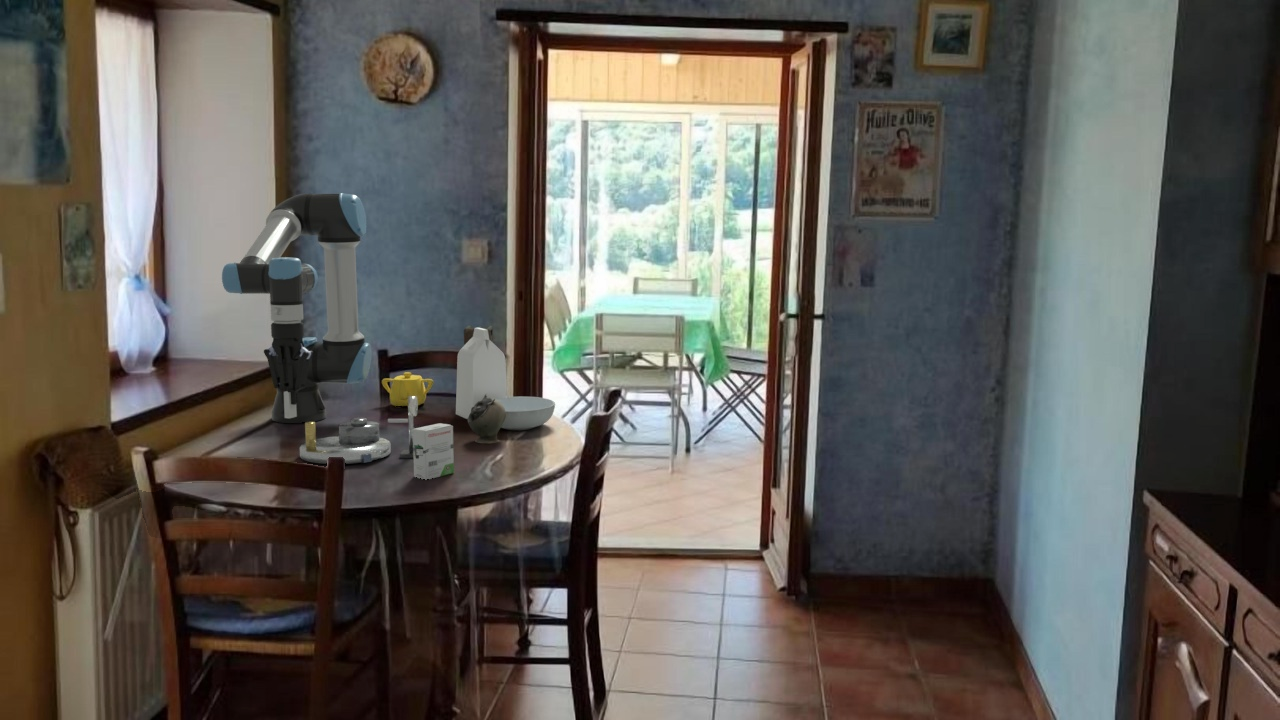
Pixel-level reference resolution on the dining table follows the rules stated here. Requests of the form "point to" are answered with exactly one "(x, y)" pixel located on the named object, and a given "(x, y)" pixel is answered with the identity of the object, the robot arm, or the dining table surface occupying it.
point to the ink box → (433, 451)
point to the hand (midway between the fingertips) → (290, 417)
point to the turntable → (340, 448)
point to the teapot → (407, 388)
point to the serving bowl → (526, 412)
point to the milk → (479, 372)
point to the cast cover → (359, 432)
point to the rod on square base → (411, 412)
